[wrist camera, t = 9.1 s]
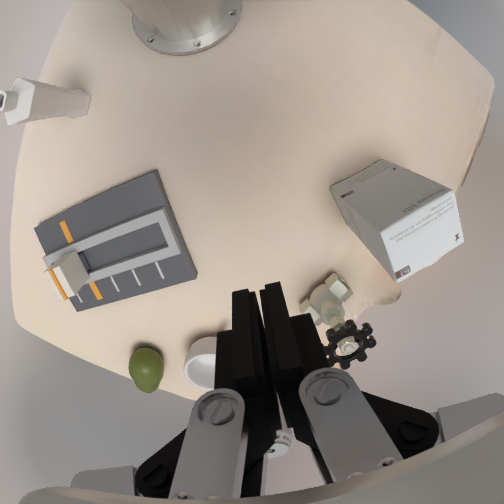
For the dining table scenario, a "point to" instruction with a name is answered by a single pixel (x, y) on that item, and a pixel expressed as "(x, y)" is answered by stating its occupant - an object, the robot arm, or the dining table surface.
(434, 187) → the skincare box
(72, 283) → the fader
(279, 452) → the energy drink can
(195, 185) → the dining table surface
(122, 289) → the console
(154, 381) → the pear
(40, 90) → the perfume bottle
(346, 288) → the valve
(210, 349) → the teacup
